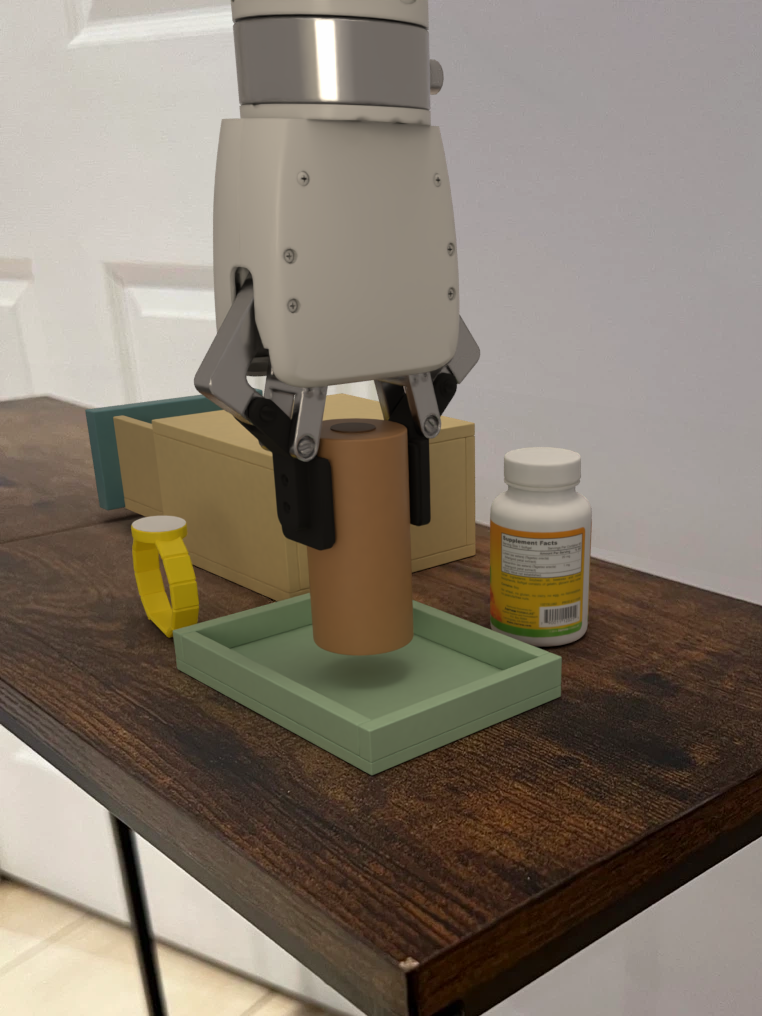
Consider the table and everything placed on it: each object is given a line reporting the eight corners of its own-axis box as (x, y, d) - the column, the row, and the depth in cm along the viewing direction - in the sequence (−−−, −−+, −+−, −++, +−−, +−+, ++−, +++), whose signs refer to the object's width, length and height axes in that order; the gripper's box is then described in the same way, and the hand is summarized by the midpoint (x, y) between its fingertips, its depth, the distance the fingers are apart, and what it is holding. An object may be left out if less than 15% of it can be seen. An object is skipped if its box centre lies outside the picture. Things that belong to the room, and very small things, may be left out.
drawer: (71, 496, 83) (56, 400, 80) (231, 467, 92) (223, 380, 89) (193, 546, 73) (181, 439, 70) (361, 509, 82) (356, 411, 79)
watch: (127, 617, 64) (112, 512, 61) (175, 607, 65) (162, 505, 63) (165, 651, 60) (151, 540, 57) (216, 640, 61) (204, 531, 59)
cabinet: (167, 554, 74) (150, 419, 71) (348, 513, 84) (342, 393, 80) (290, 607, 66) (278, 457, 62) (475, 555, 75) (475, 422, 72)
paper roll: (302, 654, 53) (285, 436, 49) (326, 618, 58) (313, 414, 53) (404, 658, 53) (396, 439, 49) (421, 621, 57) (415, 418, 53)
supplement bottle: (513, 608, 66) (515, 439, 62) (601, 622, 65) (609, 449, 60) (473, 639, 62) (472, 459, 58) (566, 655, 60) (572, 471, 56)
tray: (176, 669, 58) (171, 629, 57) (360, 613, 65) (359, 578, 64) (371, 776, 48) (369, 730, 47) (561, 696, 55) (562, 656, 55)
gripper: (434, 97, 53) (441, 485, 61) (84, 71, 42) (149, 550, 50) (551, 93, 49) (543, 514, 56) (193, 63, 37) (245, 592, 45)
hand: (357, 527), depth 53 cm, fingers closed on paper roll, 4 cm apart
